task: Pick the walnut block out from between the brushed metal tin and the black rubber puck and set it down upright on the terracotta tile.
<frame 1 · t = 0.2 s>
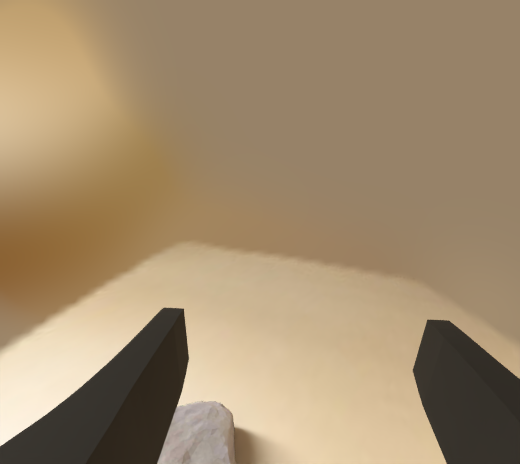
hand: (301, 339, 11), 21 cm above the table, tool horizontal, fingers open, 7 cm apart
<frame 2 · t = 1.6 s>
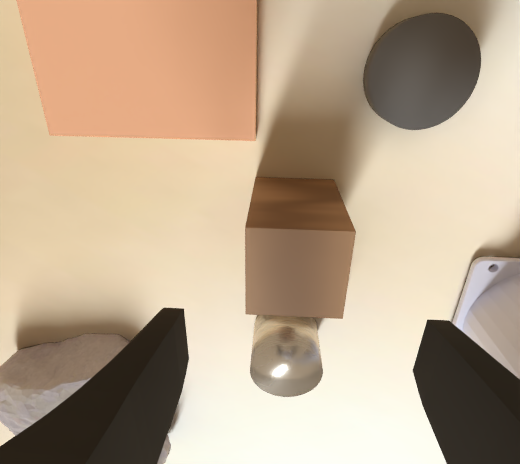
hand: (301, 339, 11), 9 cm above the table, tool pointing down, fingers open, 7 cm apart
black rubber puck: (412, 73, 16), on the table
walnut block: (292, 213, 19), on the table
stone block: (111, 389, 27), on the table
terracotta tile: (141, 17, 15), on the table
brushed metal tin: (285, 328, 23), on the table
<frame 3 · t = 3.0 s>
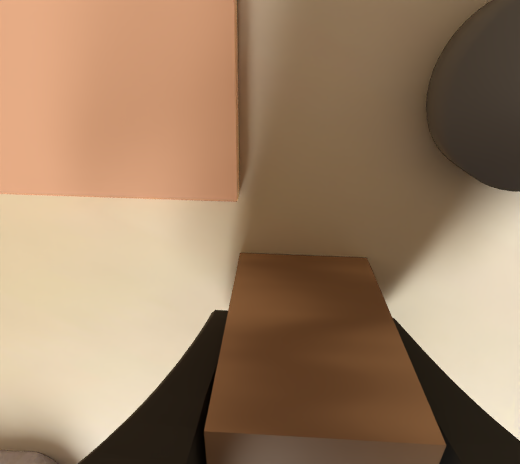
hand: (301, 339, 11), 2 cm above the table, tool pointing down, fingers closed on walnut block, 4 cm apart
black rubber puck: (514, 88, 9), on the table
walnut block: (298, 305, 12), on the table, touching gripper
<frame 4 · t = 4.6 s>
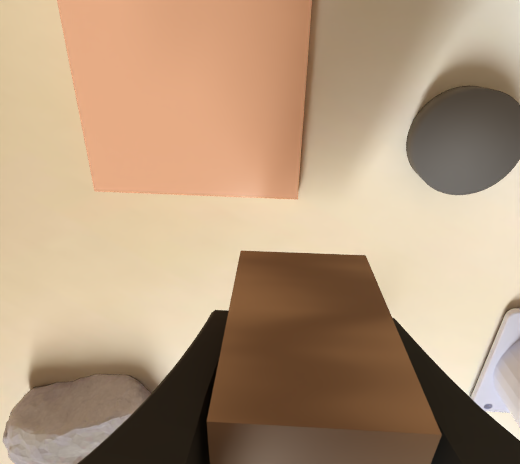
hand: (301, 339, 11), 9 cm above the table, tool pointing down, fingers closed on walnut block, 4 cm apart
black rubber puck: (455, 137, 16), on the table
walnut block: (298, 303, 12), point 7 cm above the table, touching gripper
stone block: (120, 425, 27), on the table
terracotta tile: (191, 83, 16), on the table
when the fingers open (3 cm above the table, at t = 6.5 s): walnut block stays where it is, resting on terracotta tile.
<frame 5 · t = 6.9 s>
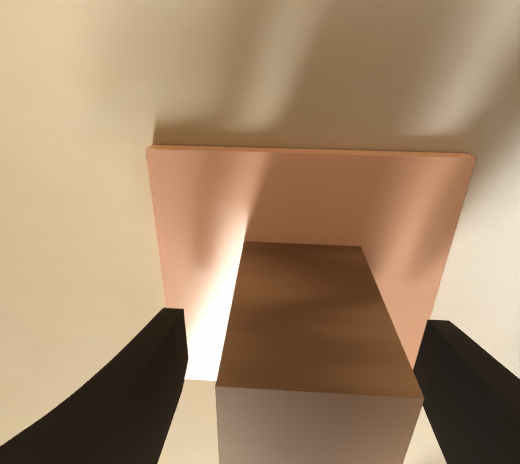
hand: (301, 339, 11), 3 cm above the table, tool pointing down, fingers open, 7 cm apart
walnut block: (297, 291, 13), point 1 cm above the table, touching terracotta tile
terracotta tile: (297, 279, 14), on the table
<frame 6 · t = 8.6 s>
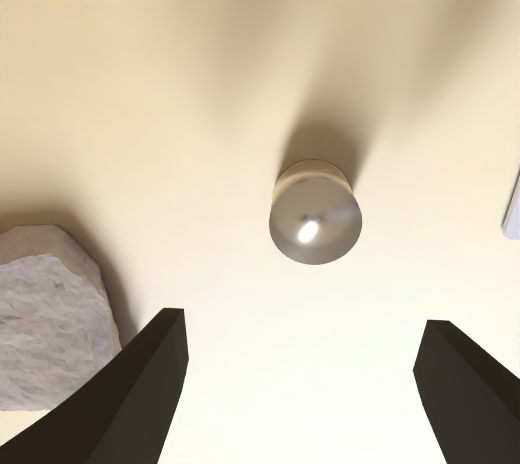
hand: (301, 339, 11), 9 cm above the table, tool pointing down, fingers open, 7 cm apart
stone block: (58, 304, 23), on the table
brushed metal tin: (311, 197, 19), on the table
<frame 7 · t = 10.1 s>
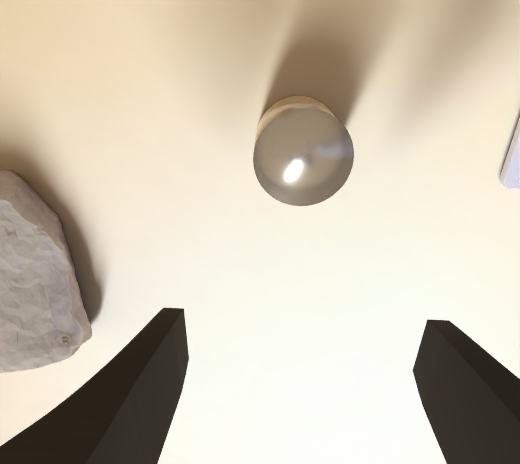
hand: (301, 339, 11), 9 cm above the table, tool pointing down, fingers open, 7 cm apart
stone block: (19, 262, 22), on the table
brushed metal tin: (296, 139, 17), on the table
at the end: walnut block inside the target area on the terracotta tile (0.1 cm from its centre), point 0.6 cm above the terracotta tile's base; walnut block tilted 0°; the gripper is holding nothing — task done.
